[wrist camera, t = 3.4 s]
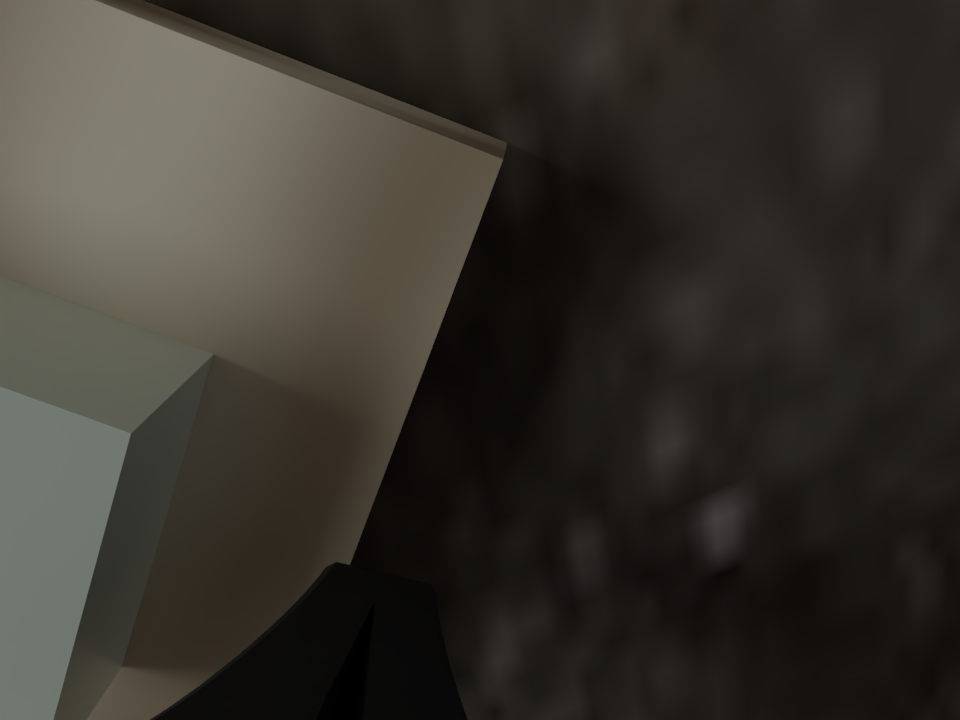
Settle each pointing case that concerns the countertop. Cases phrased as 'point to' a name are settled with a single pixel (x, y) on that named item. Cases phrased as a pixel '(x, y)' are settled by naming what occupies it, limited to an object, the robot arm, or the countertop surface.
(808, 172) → the countertop surface
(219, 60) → the board
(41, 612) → the tile sage
